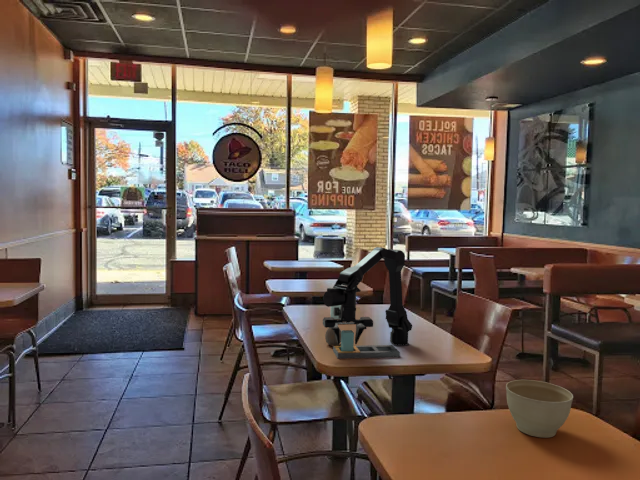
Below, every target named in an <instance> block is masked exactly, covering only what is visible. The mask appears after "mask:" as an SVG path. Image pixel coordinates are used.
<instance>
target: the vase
mask: <svg viewBox="0 0 640 480" xmlns="http://www.w3.org/2000/svg"><path fill="white" fill-rule="evenodd" d="M341 330H342V329H341V328H340V327H339V334H340V344H341ZM324 336H325V342H326V343H327V345H329V346H331V347H333V346H339V345H338V342H337V339H336V336H335V333H334V330H332V329H331V328H327V329H326V331H325V334H324Z"/></svg>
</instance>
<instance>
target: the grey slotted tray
mask: <svg viewBox="0 0 640 480" xmlns="http://www.w3.org/2000/svg"><path fill="white" fill-rule="evenodd" d="M332 351H333V354H334V355H335V356H336V358H337V359H339V360H340V359H376V358H377V359H381V358H382V359H383V358H389V359H390V358H400V357H401V356H400V355H401V351H399V350H398V349H397V348H396V347H395V345H393V344H380V345H378V344H377V345H376V344H375V345H374V344H373V345H372V344H371V345H369V344H367V345H354V348H353V351H341V345H338V346H332Z"/></svg>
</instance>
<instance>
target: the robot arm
mask: <svg viewBox="0 0 640 480" xmlns="http://www.w3.org/2000/svg"><path fill="white" fill-rule="evenodd" d="M381 260H384V265H385V267H386V269H387V271H388V280H389V283H388V284H389V301H390V302H389V304H390V305H389V307H388V309H385V320H386V322H387V324H388V328H389V329H391V331H390V333H389V334H390V337H389V342H390V343H391V345H393V346H409V345H410V343H409V332H410V331H412V329H413V324H412V322H410V320H409V319H408V313H407V311H406V308H405V306H404V305H403V285H402V270H403V268H404V266H405V263H406V255H405V252H404V251H403V250H400V249H391V248H388V249H387V248H385V247H380V246H376V247H374V248H373V250H372V251H370V252H369V253H368V254H367V255H366V256H364V257H363V258H362V259H361V260H360V261H359V262H357V263H356V264H355V265H354V266H350V267H347V268H346V269H344V270H343V271H341V272H339V276H338V279H337V280H336V281H335V283H334V285H333V287H327V288H326V291H325V292H324V294H323V296H322V300H323V303H324V305H325V306H326V307H328V308H329V307H330V308H331V306H338V305H341V308H340V309H339V307H334V316H338V318H339V319H334V318H333V317H331V316H329V317H327V316H326V317H325V316H324V317H323V318H322V326H323V327H324V328H327V329H328V328H331V329H332V330H334V333H335V336H336V339H337V342H338V346H340V345H341V343H340V334H339V328H340V327H339V325H341V326H343V325H348V326H349V325H355V334H354V345H358V342H359V339H360V337H361V336H362V334H363V332H364V330H367V328H373V327H374V320H373V319H372V318H370V316H360V317H359V318H358V319H357V318H356V312H357V293H360V292H361V291H362V289H360V288H359V287H358V285H360V283H361V282H362V281H363V277H364V276H365V274H367V272H368V271H370V270H371V269H372V268H373V267H374V266H376V265H377V264H378V263H380V261H381Z"/></svg>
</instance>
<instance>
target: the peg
mask: <svg viewBox="0 0 640 480" xmlns="http://www.w3.org/2000/svg"><path fill="white" fill-rule="evenodd" d="M340 330H341V343H340V346H341V351H353V348H354V346H355V332H354V331H353V330H349V329H344V330H342V329H340Z"/></svg>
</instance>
